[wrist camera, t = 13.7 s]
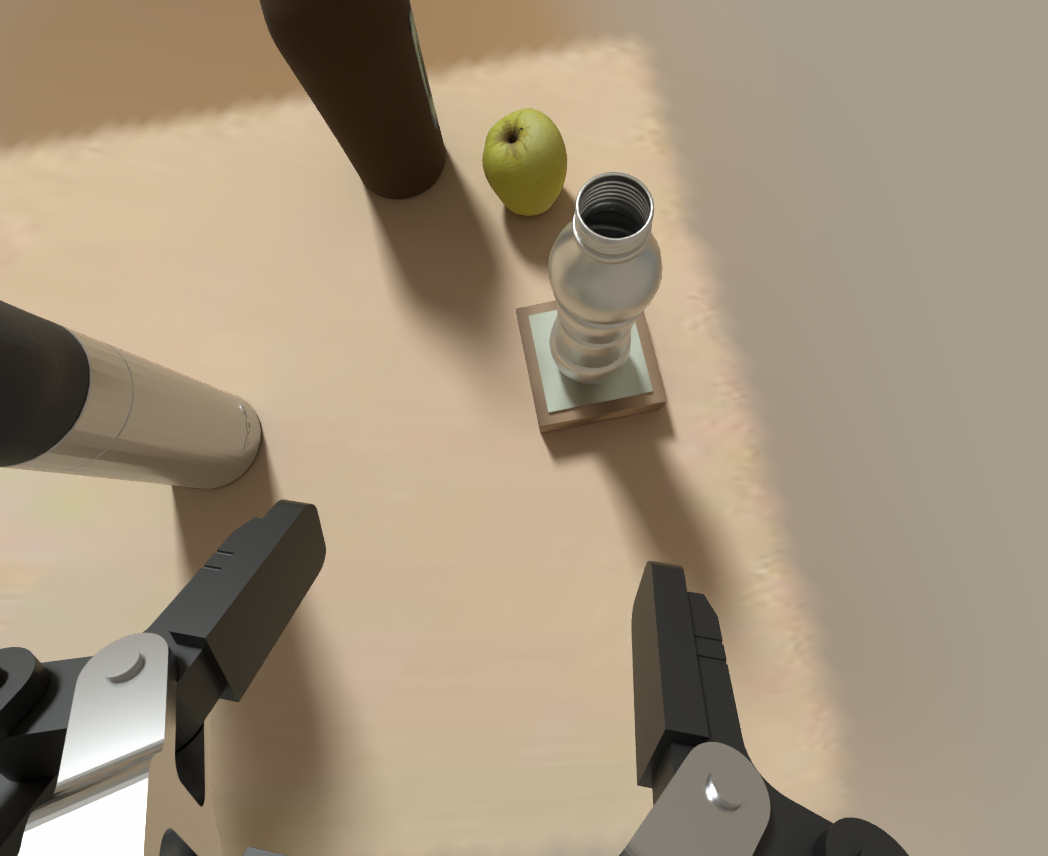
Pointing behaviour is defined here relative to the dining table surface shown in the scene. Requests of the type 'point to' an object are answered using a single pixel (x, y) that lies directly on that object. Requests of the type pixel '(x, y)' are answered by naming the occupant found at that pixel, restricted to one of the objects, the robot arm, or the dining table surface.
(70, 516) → the dining table surface
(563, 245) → the plastic bottle
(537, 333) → the walnut base
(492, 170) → the apple
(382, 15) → the olive oil
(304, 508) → the robot arm
